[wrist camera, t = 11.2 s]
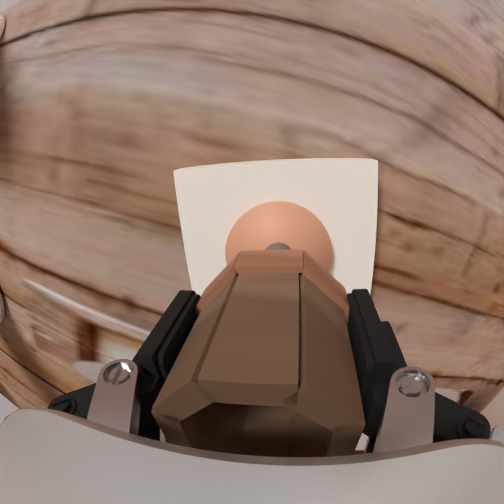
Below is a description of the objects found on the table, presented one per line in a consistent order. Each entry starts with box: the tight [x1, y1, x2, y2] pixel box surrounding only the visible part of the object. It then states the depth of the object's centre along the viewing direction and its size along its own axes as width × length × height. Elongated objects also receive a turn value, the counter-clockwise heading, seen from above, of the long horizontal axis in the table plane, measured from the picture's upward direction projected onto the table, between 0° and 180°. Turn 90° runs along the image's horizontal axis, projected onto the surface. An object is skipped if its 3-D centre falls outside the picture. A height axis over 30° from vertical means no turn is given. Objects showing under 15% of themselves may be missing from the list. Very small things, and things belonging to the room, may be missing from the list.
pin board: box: [173, 158, 378, 297], centre depth 17 cm, size 22×12×10 cm, turn 4°
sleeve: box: [151, 249, 365, 457], centre depth 9 cm, size 6×6×6 cm
